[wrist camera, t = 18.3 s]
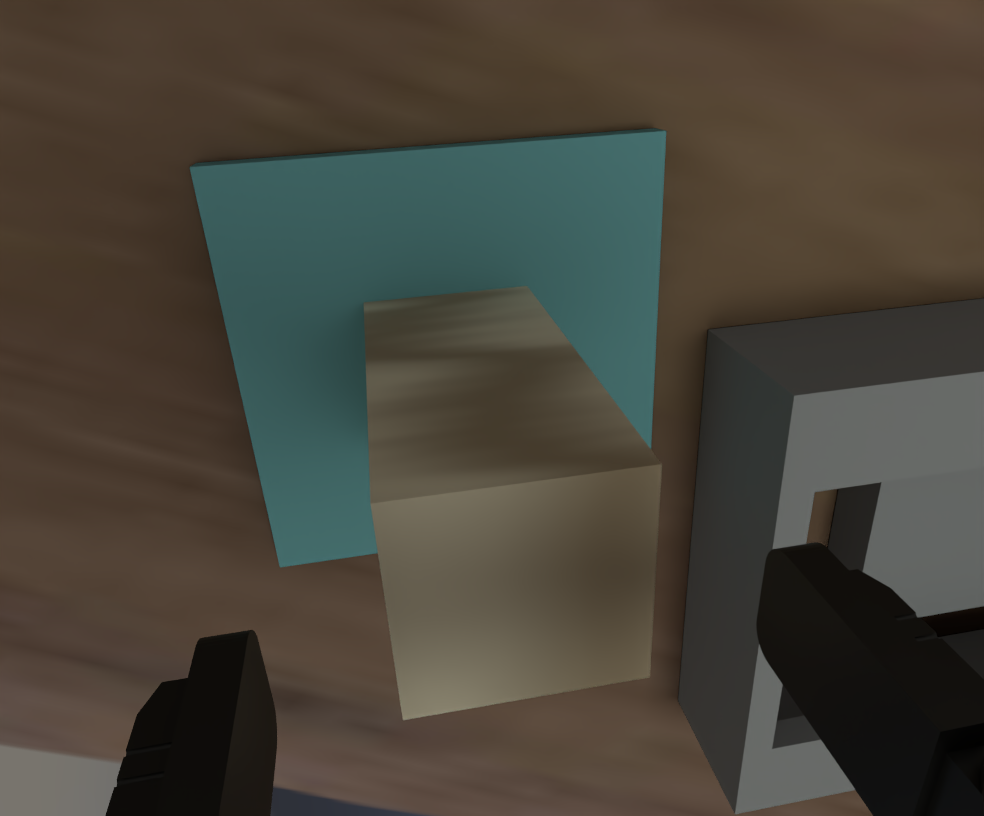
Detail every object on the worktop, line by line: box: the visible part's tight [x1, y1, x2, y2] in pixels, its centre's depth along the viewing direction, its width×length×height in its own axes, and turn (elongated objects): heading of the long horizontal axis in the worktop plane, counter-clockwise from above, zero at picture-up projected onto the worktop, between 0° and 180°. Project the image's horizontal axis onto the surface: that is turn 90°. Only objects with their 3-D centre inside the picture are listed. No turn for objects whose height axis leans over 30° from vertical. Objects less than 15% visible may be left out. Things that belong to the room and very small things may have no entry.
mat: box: [190, 128, 666, 567], centre depth 21 cm, size 12×12×1 cm
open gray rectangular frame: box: [678, 298, 984, 814], centre depth 25 cm, size 18×16×5 cm
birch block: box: [364, 286, 662, 720], centre depth 16 cm, size 4×4×10 cm
